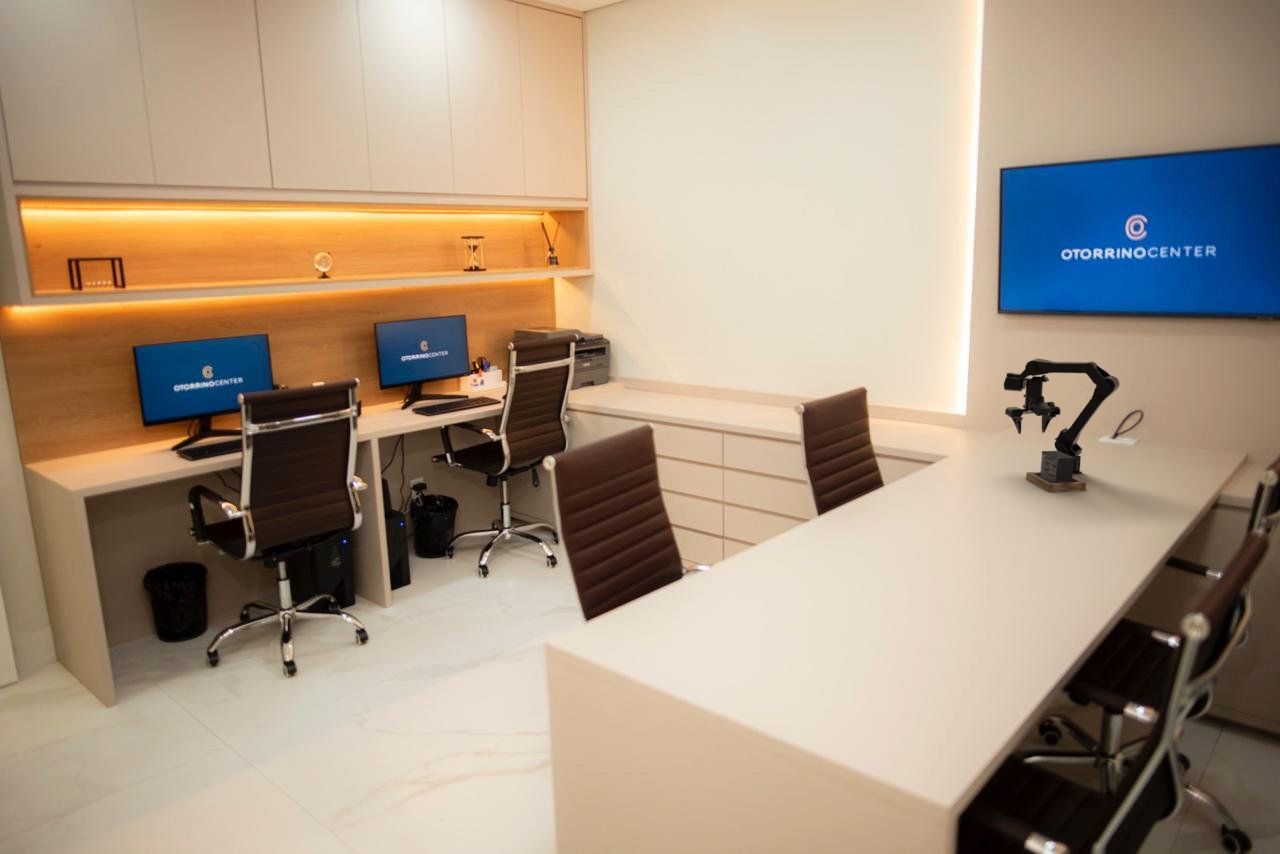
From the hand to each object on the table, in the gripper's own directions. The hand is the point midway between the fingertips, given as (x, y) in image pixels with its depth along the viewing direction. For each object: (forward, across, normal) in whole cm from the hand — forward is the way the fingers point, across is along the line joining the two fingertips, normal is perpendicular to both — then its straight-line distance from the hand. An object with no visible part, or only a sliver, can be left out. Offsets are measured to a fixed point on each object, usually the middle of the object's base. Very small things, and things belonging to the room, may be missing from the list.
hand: (1031, 433), depth 322 cm
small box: (+13, -3, -24) cm, 27 cm away
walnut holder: (+13, -3, -24) cm, 27 cm away
